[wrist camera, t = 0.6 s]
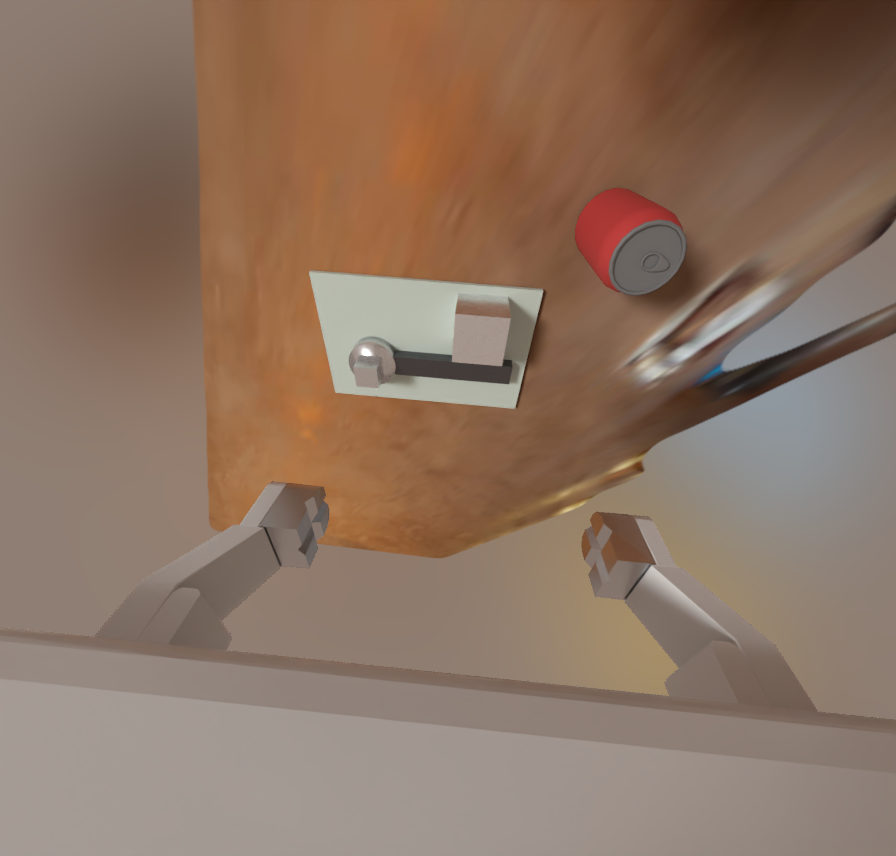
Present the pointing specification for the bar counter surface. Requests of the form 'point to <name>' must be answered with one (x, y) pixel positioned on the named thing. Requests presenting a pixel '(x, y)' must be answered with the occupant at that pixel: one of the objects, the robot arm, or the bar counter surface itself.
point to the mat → (416, 331)
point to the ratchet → (415, 365)
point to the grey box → (480, 329)
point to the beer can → (630, 241)
